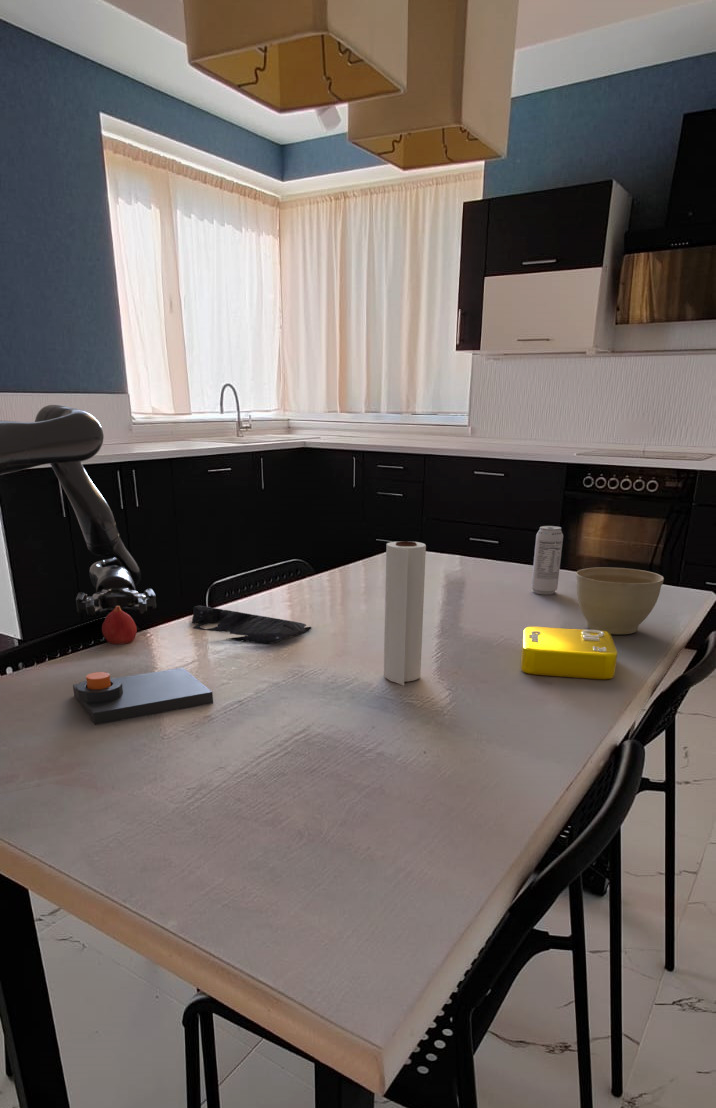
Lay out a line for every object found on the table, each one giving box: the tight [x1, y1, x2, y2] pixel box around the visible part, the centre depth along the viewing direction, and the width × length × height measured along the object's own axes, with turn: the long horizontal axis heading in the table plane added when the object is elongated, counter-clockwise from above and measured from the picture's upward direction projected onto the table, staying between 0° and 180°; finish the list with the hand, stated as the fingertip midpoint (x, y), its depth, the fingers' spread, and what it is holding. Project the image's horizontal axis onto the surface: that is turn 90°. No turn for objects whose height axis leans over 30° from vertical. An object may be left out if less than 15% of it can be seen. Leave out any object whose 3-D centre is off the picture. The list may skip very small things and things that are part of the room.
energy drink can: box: [530, 525, 564, 596], centre depth 179 cm, size 6×6×15 cm
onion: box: [101, 606, 138, 645], centre depth 136 cm, size 6×6×8 cm
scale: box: [72, 667, 214, 726], centre depth 113 cm, size 18×13×4 cm
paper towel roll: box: [383, 540, 427, 687], centre depth 120 cm, size 7×6×21 cm
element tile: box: [520, 625, 618, 681], centre depth 131 cm, size 15×15×5 cm
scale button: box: [85, 671, 111, 689], centre depth 110 cm, size 3×3×2 cm
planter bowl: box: [575, 566, 665, 635], centre depth 150 cm, size 16×16×11 cm
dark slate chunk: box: [191, 605, 312, 645], centre depth 147 cm, size 15×22×5 cm
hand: (117, 609), depth 139 cm, fingers open, 8 cm apart
